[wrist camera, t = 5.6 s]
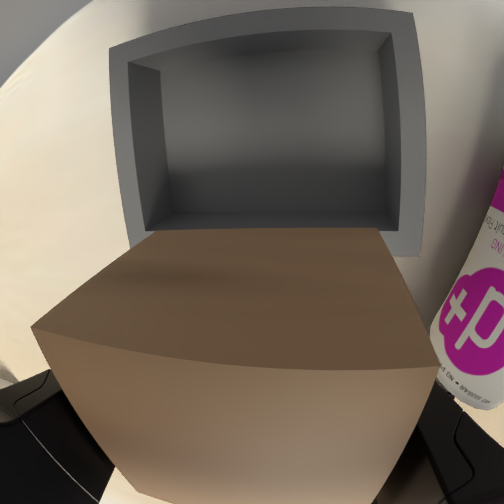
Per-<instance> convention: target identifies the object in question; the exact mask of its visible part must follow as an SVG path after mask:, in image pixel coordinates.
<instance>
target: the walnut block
mask: <svg viewBox="0 0 504 504" xmlns="http://www.w3.org/2000/svg"><path fill="white" fill-rule="evenodd" d="M31 329H32V332H33V334H34V336H35V338H36V340H37V342H38V344H39V347H40V349H41V351H42V353H43V355H44V357H45V359H46V361H47V362H48V364H49V366H50V368H51V370H52V372H53V374H54V376H55V377H56V379H57V381H58V383H59V384H60V386H61V388H62V390H63V391H64V393H65V395H66V396H67V398H68V400H69V401H70V403H71V405H72V406H73V408H74V409H75V411H76V412H77V414H78V416H79V417H80V419H81V420H82V422H83V423H84V425H85V426H86V427H87V429H88V430H89V432H90V433H91V435H92V436H93V437H94V439H95V440H96V442H97V443H98V444H99V446H100V447H101V448H102V450H103V451H104V452H105V454H106V455H107V456H108V457H109V459H110V460H111V461H112V463H113V464H114V465H115V466H116V467H117V469H118V470H119V471H120V472H121V474H122V475H123V476H124V477H125V478H126V479H127V481H128V482H129V483H130V484H131V485H132V486H133V487H134V488H135V490H136V491H137V492H139V493H142V494H145V495H148V496H151V497H154V498H157V499H160V500H163V501H166V502H170V503H173V504H371V503H372V502H373V500H374V499H375V497H376V496H377V494H378V493H379V491H380V489H381V488H382V486H383V485H384V483H385V481H386V480H387V478H388V476H389V475H390V473H391V471H392V470H393V468H394V466H395V464H396V463H397V461H398V459H399V457H400V455H401V453H402V452H403V450H404V448H405V446H406V444H407V442H408V440H409V438H410V436H411V434H412V432H413V430H414V428H415V426H416V424H417V422H418V419H419V417H420V415H421V413H422V411H423V408H424V406H425V404H426V401H427V399H428V397H429V394H430V392H431V389H432V387H433V384H434V382H435V379H436V377H437V374H438V371H439V368H440V363H439V361H438V358H437V355H436V353H435V350H434V348H433V345H432V343H431V340H430V338H429V335H428V333H427V330H426V328H425V326H424V323H423V321H422V319H421V316H420V314H419V312H418V309H417V307H416V305H415V303H414V301H413V298H412V296H411V294H410V292H409V290H408V288H407V285H406V283H405V281H404V279H403V277H402V275H401V273H400V271H399V269H398V267H397V265H396V263H395V261H394V259H393V257H392V255H391V253H390V251H389V249H388V247H387V245H386V244H385V242H384V240H383V238H382V236H381V234H380V232H379V231H378V229H377V228H242V229H196V230H162V231H155V232H154V233H152V234H151V235H150V236H148V237H147V238H145V239H144V240H142V241H141V242H140V243H138V244H137V245H135V246H134V247H133V248H131V249H130V250H128V251H127V252H126V253H124V254H123V255H121V256H120V257H119V258H117V259H116V260H115V261H113V262H112V263H111V264H109V265H108V266H107V267H105V268H104V269H103V270H101V271H100V272H99V273H97V274H96V275H95V276H93V277H92V278H91V279H89V280H88V281H87V282H85V283H84V284H83V285H82V286H80V287H79V288H78V289H76V290H75V291H74V292H73V293H71V294H70V295H69V296H67V297H66V298H65V299H64V300H62V301H61V302H60V303H59V304H57V305H56V306H55V307H54V308H53V309H51V310H50V311H49V312H48V313H46V314H45V315H44V316H43V317H42V318H40V319H39V320H38V321H37V322H36V323H34V324H33V325H32V326H31Z"/></svg>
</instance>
